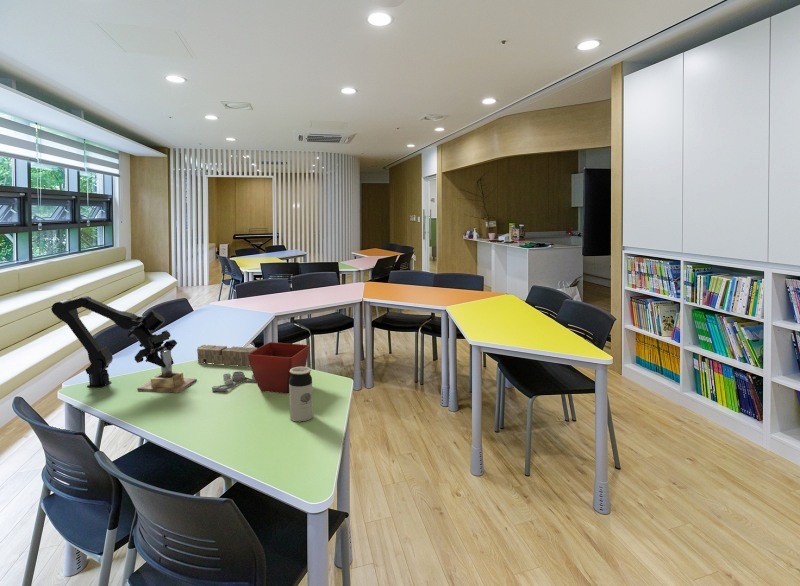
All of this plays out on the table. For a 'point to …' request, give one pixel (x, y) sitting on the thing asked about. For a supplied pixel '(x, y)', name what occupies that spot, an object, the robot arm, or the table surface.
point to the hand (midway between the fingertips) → (169, 365)
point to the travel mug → (300, 394)
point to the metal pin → (166, 363)
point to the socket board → (167, 383)
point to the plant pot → (276, 365)
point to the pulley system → (229, 381)
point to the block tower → (224, 355)
